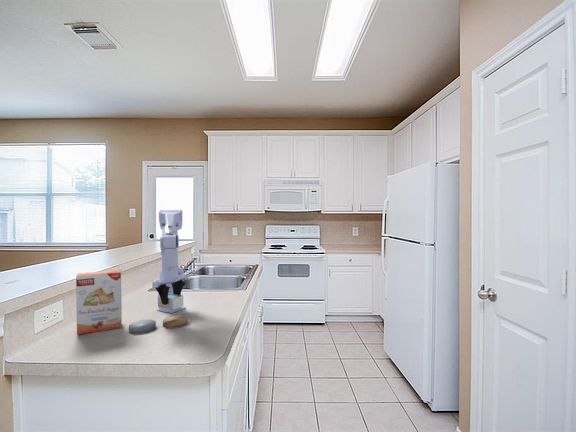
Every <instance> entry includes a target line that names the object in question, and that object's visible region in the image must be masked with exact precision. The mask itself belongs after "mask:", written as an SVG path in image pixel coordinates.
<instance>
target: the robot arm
mask: <svg viewBox="0 0 576 432" xmlns="http://www.w3.org/2000/svg"><path fill="white" fill-rule="evenodd" d="M158 222H159V227H160V229H161V230H162V233H161V236H160V238H159V239H160V240H159V246H160V248H159V249H160V253H161V271H160V273H159V279H157V280H155V281H152V282H151V286H152V288H155V290H156V291H157V293H158V294H157V297H158V296H160V298H161V301H162V304H164V305H167V303H168V293H170V294H177V295H182V291H183V288H184V286H185V285H186V281H187V279H188V277H187V276H188V275H187V274H184V270H183V269H182V268H181V267H179V249H180V245H179V244H180V243H179V242H180V240H179V239H180V237H179V234H178V233H179V232H178V231H179V230H181V229H182V228H183V210H182V209H159V211H158ZM184 309H186V306H184V305H183V306H182V307H179V308H176V309H174V310H172V309H167V308H162V307H158V306H157V308H156V311H159V312H164V313H168V314H173V313H176V312H179V311H181V310H184Z"/></svg>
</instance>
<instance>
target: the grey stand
mask: <svg viewBox="0 0 576 432" xmlns="http://www.w3.org/2000/svg"><path fill="white" fill-rule="evenodd" d="M156 322H157V321H156V320H154V319H142V320H141V319H140V320H137V321H133V322H131V323H130V324H129V325H128V332H129V333H130V334H145V333H148V332H151V331H154V330H155V329H156V328H157V323H156Z"/></svg>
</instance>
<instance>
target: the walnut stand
mask: <svg viewBox="0 0 576 432" xmlns="http://www.w3.org/2000/svg"><path fill="white" fill-rule="evenodd" d="M188 323H189V318H188V316H187V315H184V314H181V315H180V314H178V315H170V316H167V317H164V318H163V319H162V327H163V328H165V327H166V329H176V327H177V328H182V327H184V326H186V325H187V324H188ZM181 326H182V327H181Z"/></svg>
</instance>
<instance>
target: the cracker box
mask: <svg viewBox="0 0 576 432" xmlns="http://www.w3.org/2000/svg"><path fill="white" fill-rule="evenodd" d="M75 278H76V282H75V285H76V286H75V289H76V290H75V292H76V294H75V295H76V299H75V300H76V301H75V302H76V305H75V306H76V335H82V334H88V333H89V334H90V333H93V332H94V333H96V332H101V331H107V330H108V331H109V330H114V329H115V330H116V329H121V328H122V322H123V321H122V320H123V319H122V316H123V315H122V313H123V312H122V311H123V310H122V309H123V308H122V306H123V305H122V270H119V269H118V270H103V271H94V272H93V271H91V272H81V273H78V274H77V275H76V277H75Z"/></svg>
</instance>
